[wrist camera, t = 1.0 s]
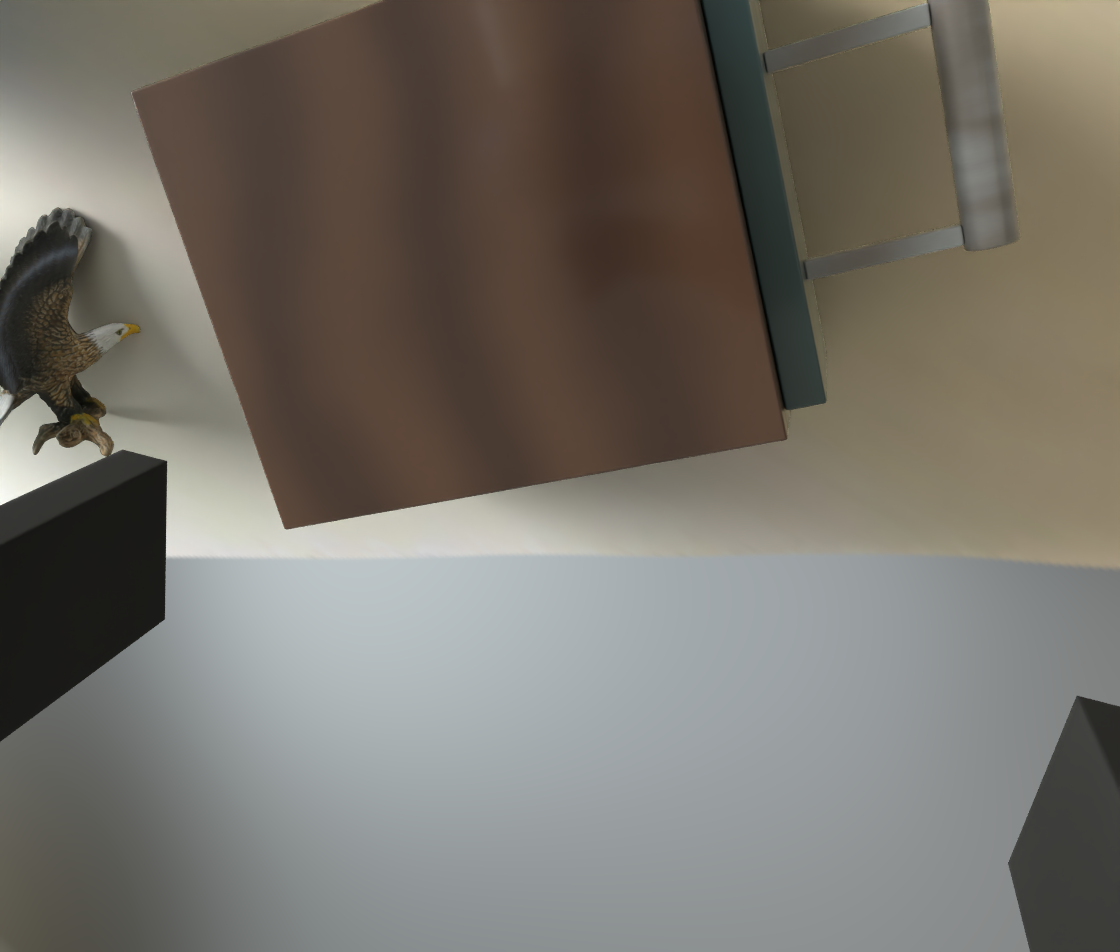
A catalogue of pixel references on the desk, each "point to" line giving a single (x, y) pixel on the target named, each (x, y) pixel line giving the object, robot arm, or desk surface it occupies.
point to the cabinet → (470, 248)
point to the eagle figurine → (51, 333)
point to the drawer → (769, 181)
